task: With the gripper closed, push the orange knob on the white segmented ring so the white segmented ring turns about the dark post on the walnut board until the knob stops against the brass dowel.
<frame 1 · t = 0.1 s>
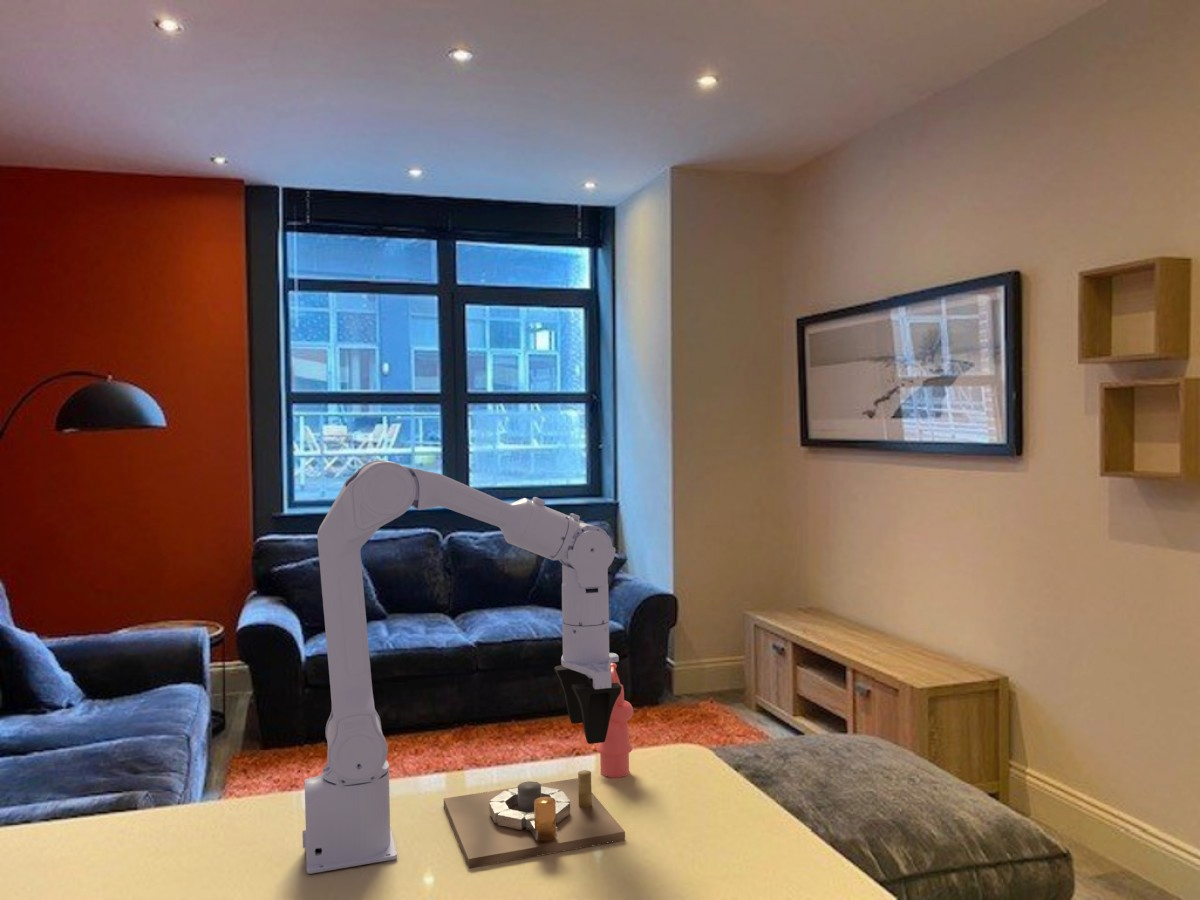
hand: (587, 732, 107), 10 cm above the kitchen counter, tool pointing down, fingers open, 7 cm apart
white segmented ring: (533, 800, 103), point 3 cm above the kitchen counter, hinge at 0.0°
figurine: (615, 773, 120), on the kitchen counter
peg base: (530, 822, 105), on the kitchen counter
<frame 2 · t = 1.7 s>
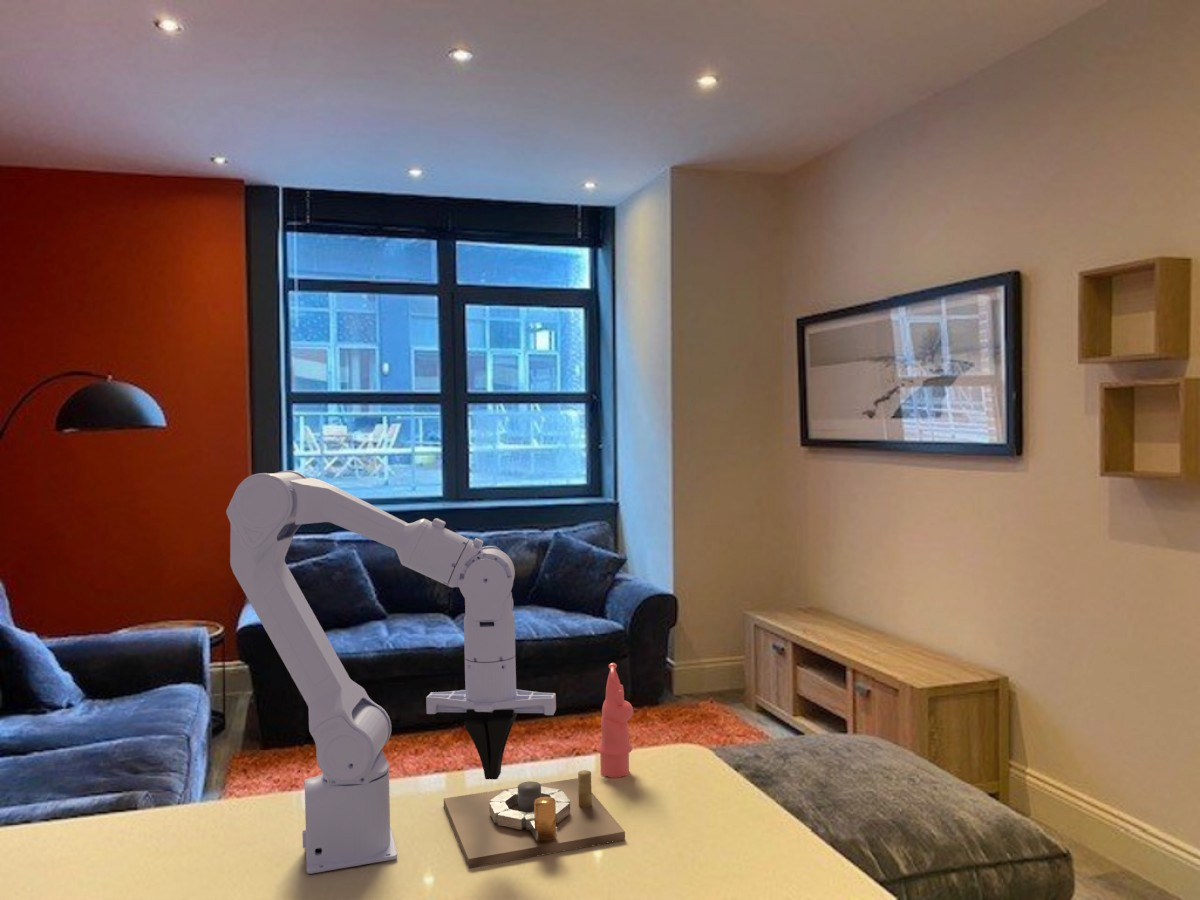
hand: (492, 776, 99), 8 cm above the kitchen counter, tool pointing down, fingers closed
nothing on the kitchen counter moved.
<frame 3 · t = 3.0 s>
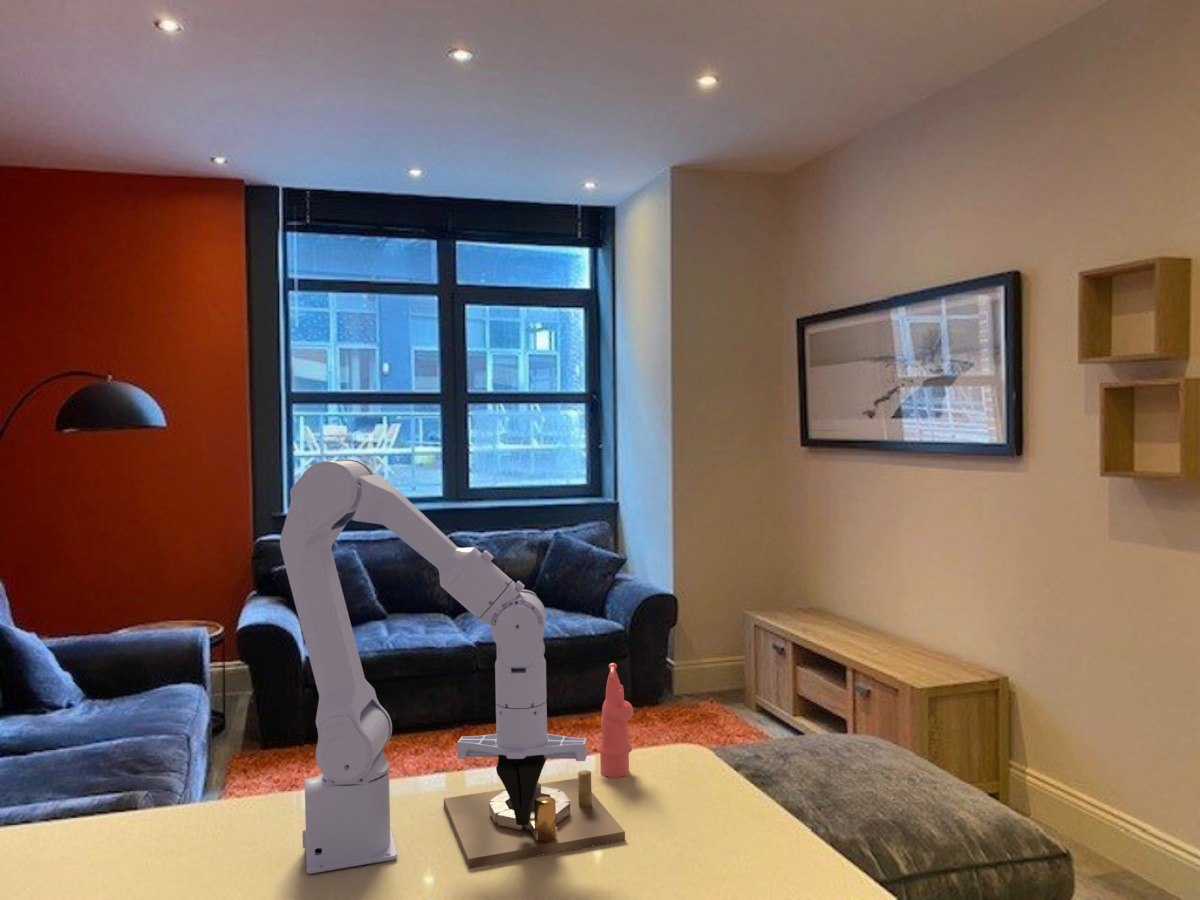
hand: (523, 821, 98), 3 cm above the kitchen counter, tool pointing down, fingers closed, pressing on white segmented ring
white segmented ring: (533, 800, 103), point 3 cm above the kitchen counter, hinge at 0.0°, touching gripper
everything else where it was.
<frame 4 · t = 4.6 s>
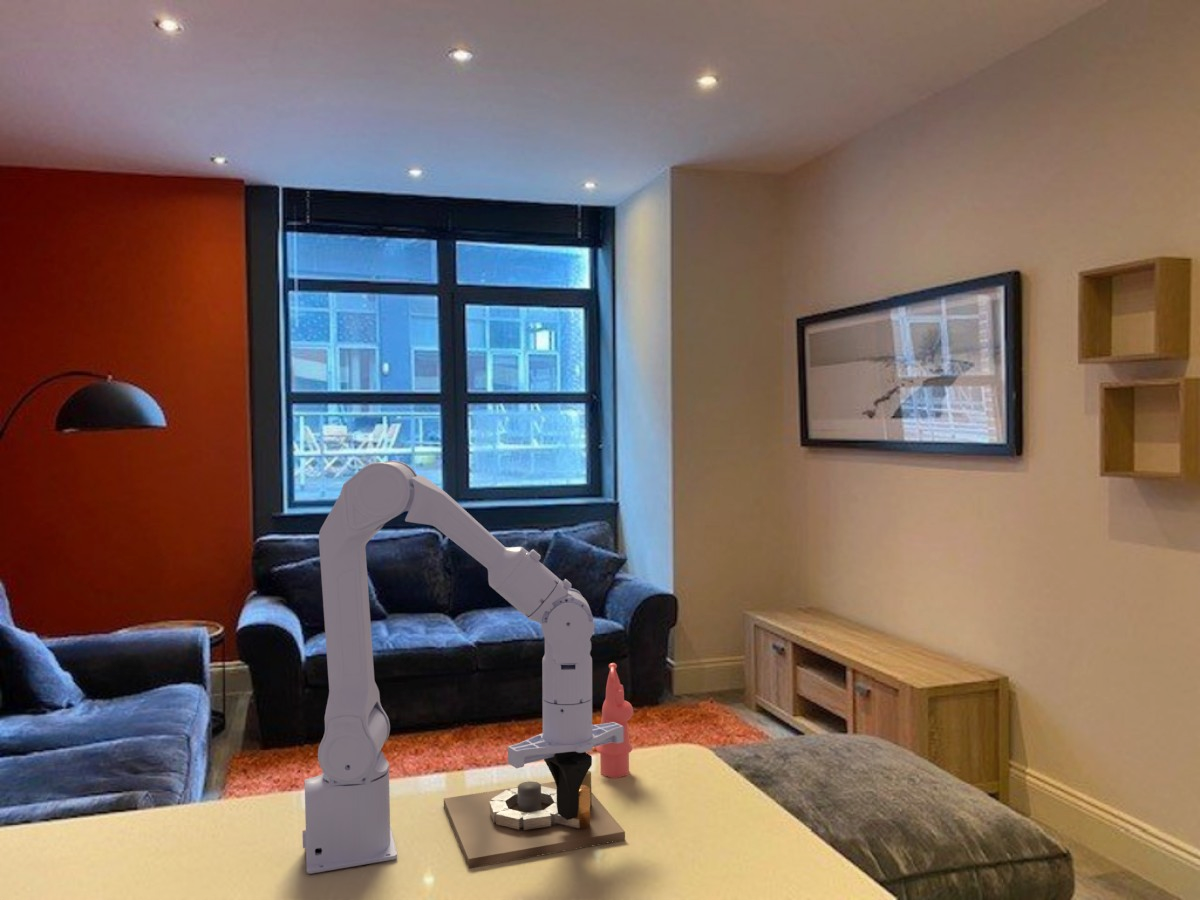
hand: (567, 815, 100), 3 cm above the kitchen counter, tool pointing down, fingers closed, pressing on white segmented ring
white segmented ring: (542, 797, 104), point 3 cm above the kitchen counter, hinge at 41.6°, touching gripper
everything else where it was.
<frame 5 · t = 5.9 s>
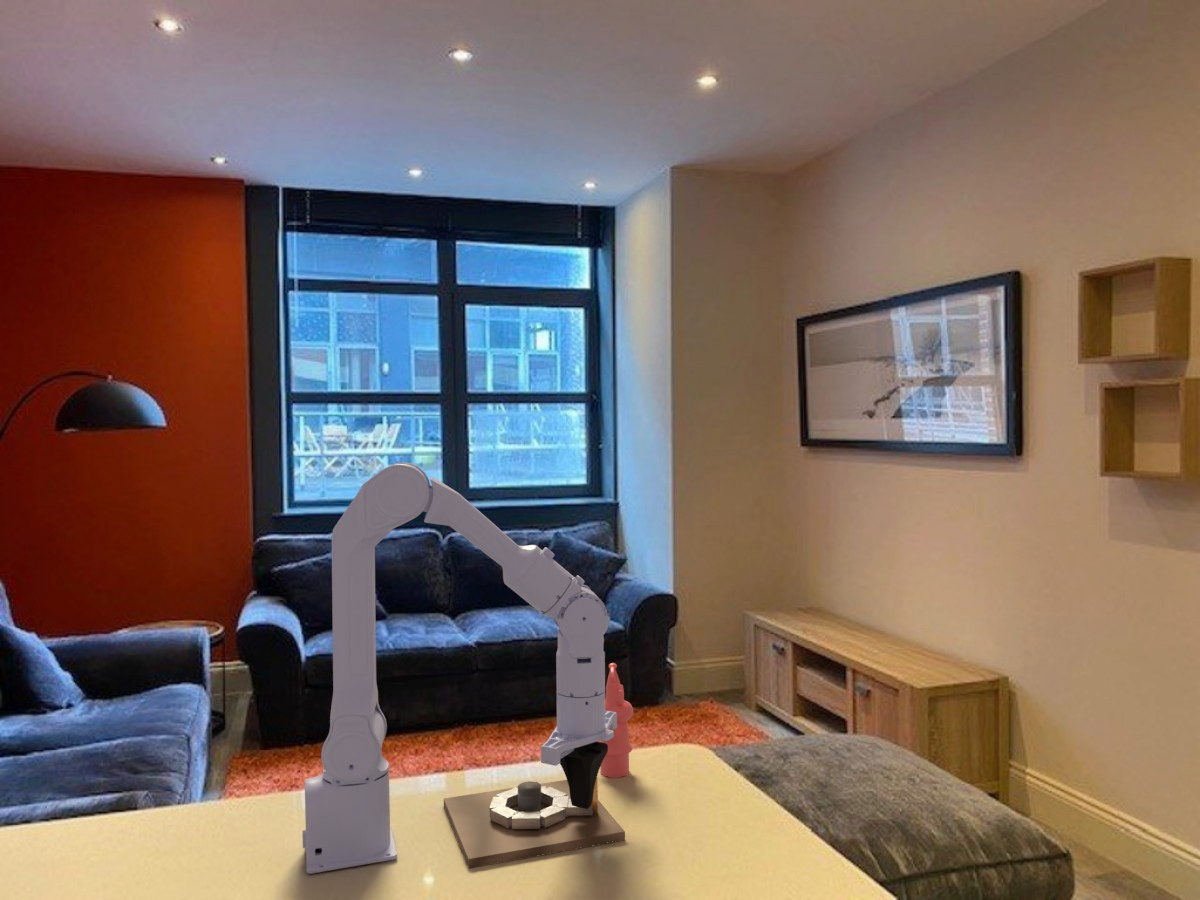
hand: (581, 805, 103), 3 cm above the kitchen counter, tool pointing down, fingers closed
white segmented ring: (544, 794, 105), point 3 cm above the kitchen counter, hinge at 70.1°, touching gripper
everything else where it was.
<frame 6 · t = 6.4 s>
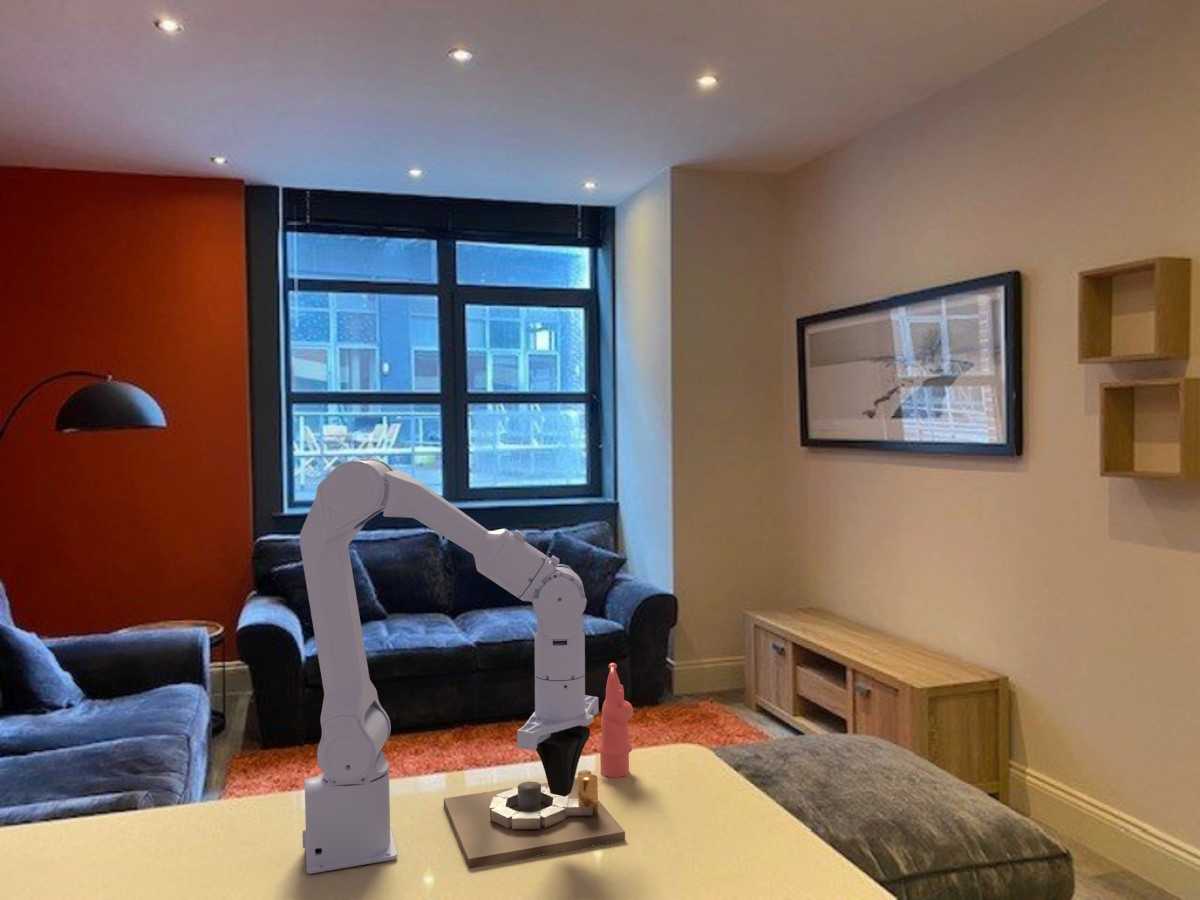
hand: (560, 793, 100), 6 cm above the kitchen counter, tool pointing down, fingers closed
white segmented ring: (544, 794, 105), point 3 cm above the kitchen counter, hinge at 70.2°
everything else where it was.
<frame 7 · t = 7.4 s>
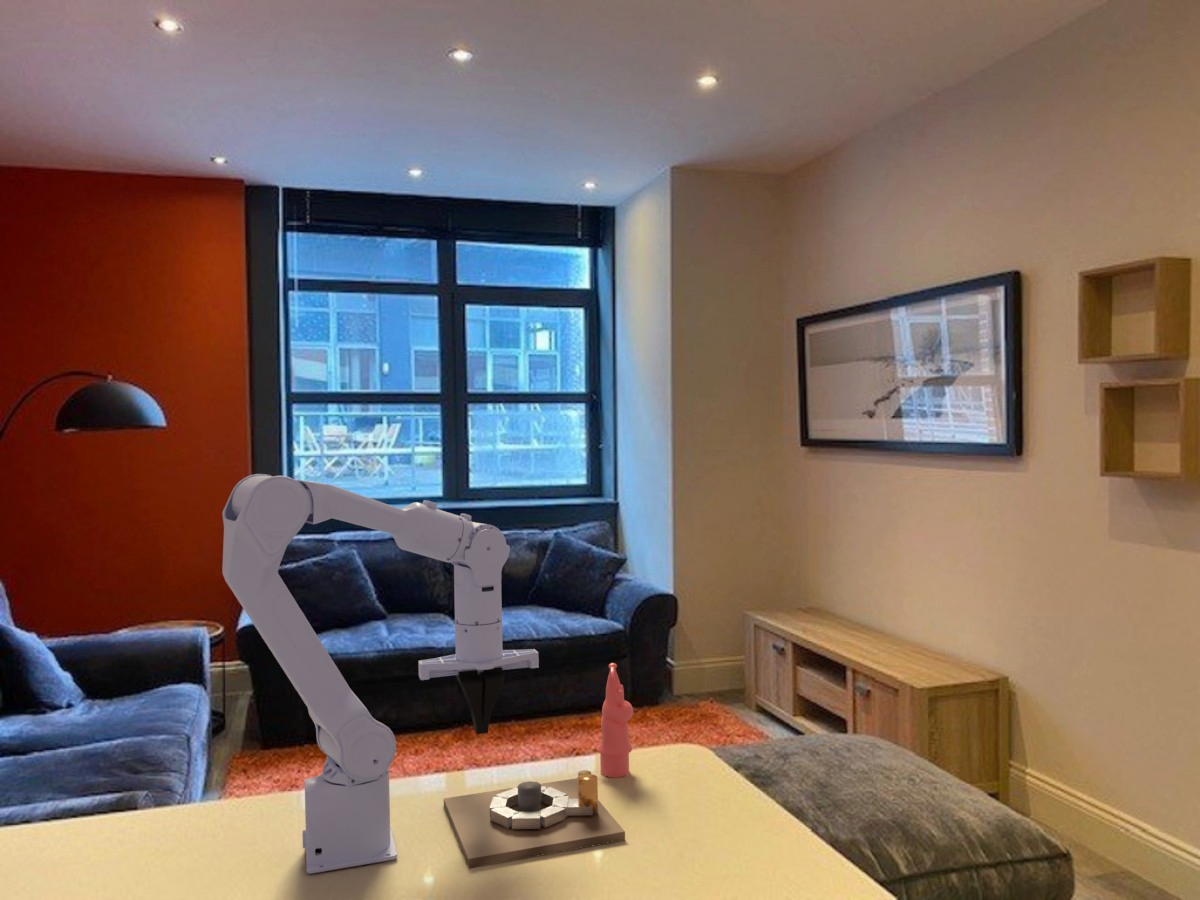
hand: (480, 731, 107), 10 cm above the kitchen counter, tool pointing down, fingers closed
nothing on the kitchen counter moved.
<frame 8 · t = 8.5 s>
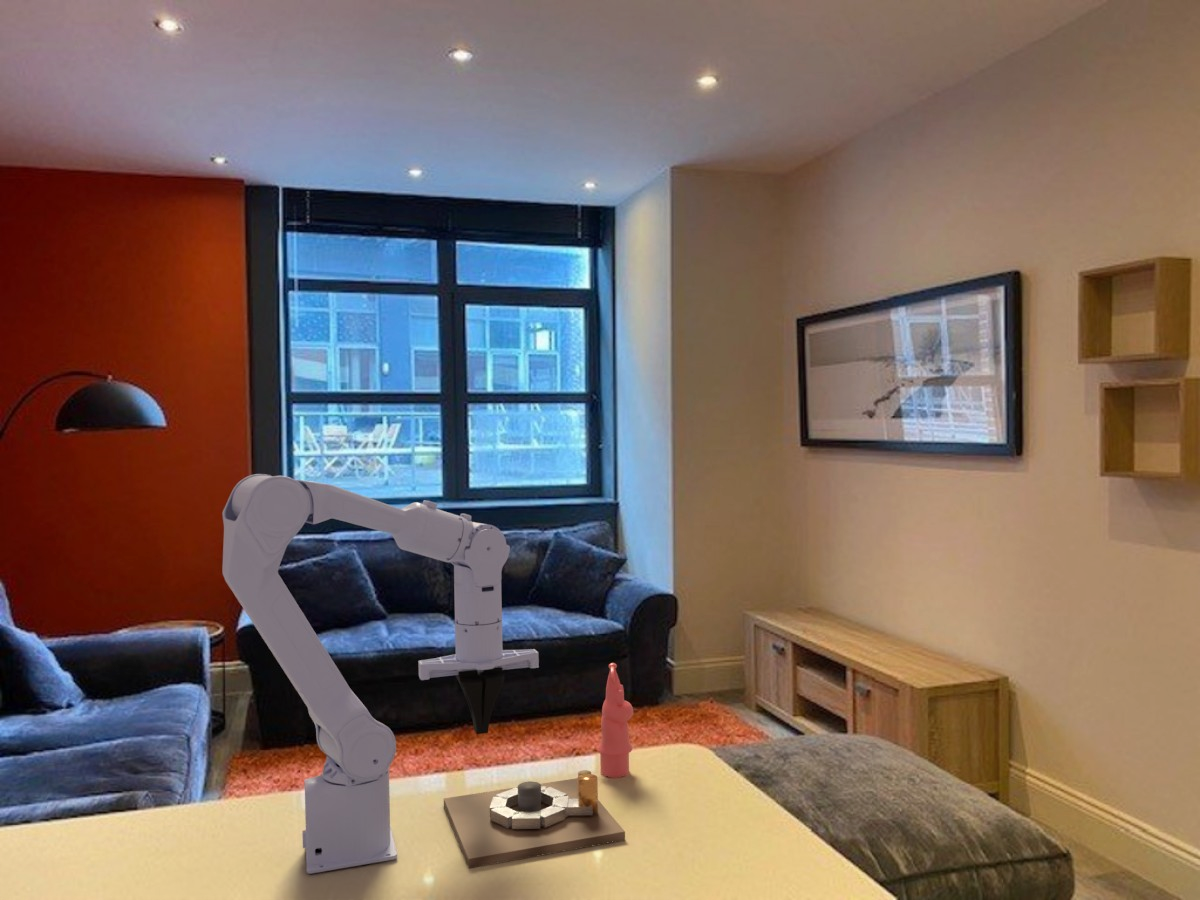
hand: (480, 731, 107), 10 cm above the kitchen counter, tool pointing down, fingers closed
nothing on the kitchen counter moved.
at the end: white segmented ring at +70° (first picture: +0°) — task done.
